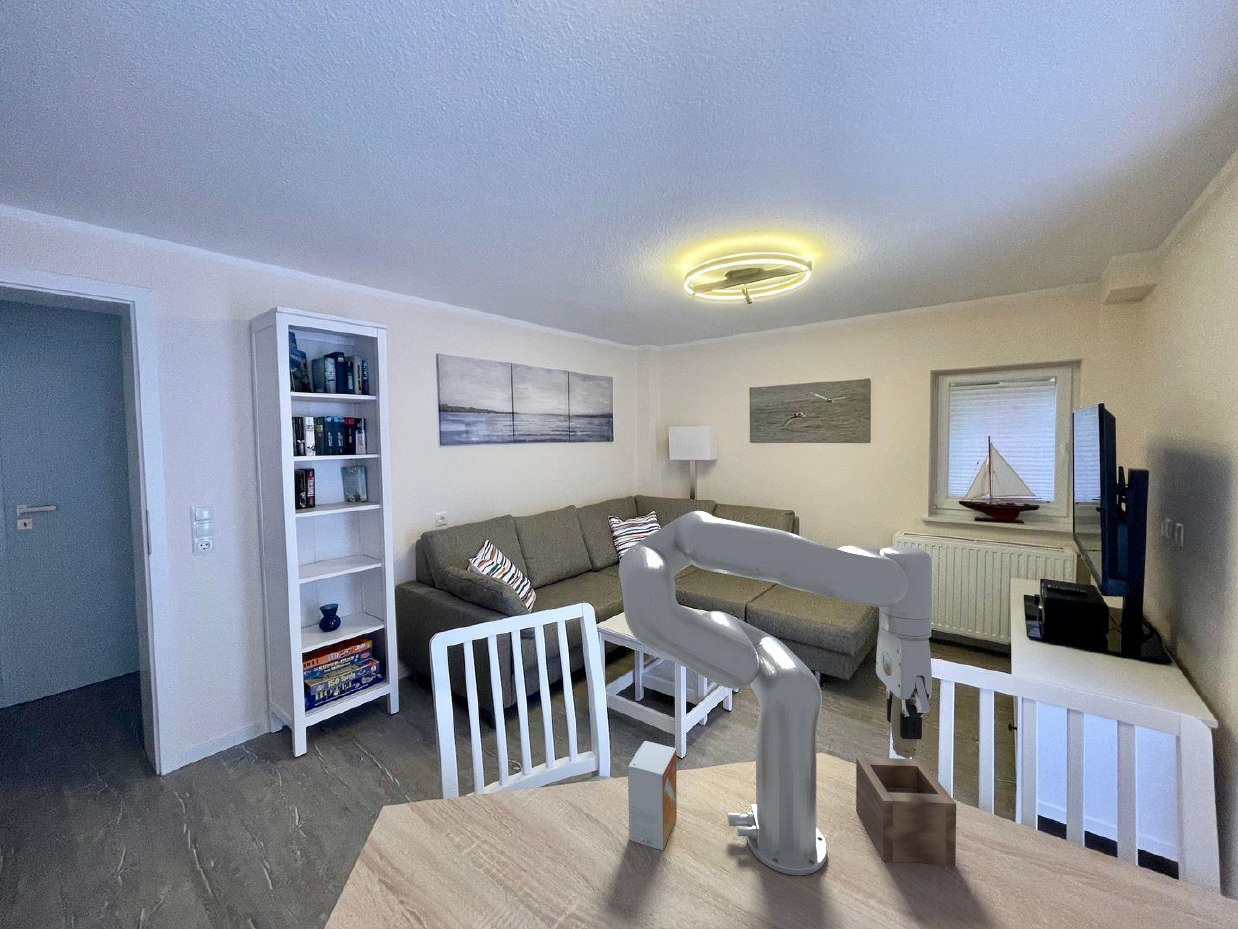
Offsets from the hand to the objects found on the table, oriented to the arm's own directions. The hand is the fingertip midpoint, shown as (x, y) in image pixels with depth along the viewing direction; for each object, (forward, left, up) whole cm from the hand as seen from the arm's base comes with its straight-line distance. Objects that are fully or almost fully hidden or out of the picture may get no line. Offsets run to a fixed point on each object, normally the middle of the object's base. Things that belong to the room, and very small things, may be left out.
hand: (903, 729), depth 84 cm
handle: (0, 0, -4) cm, 4 cm away
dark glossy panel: (0, 0, -14) cm, 14 cm away
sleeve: (0, 0, -19) cm, 19 cm away
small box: (-42, -1, -19) cm, 46 cm away
